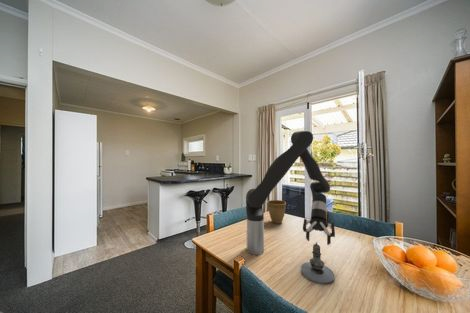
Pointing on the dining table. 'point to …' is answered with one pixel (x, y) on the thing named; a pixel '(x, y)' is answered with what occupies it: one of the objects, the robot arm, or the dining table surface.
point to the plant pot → (276, 210)
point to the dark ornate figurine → (316, 260)
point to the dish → (317, 278)
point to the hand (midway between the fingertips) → (317, 242)
